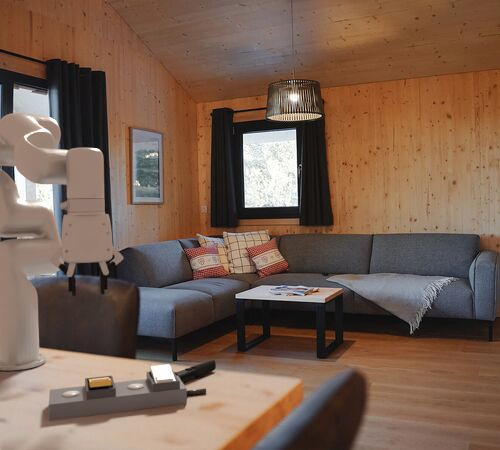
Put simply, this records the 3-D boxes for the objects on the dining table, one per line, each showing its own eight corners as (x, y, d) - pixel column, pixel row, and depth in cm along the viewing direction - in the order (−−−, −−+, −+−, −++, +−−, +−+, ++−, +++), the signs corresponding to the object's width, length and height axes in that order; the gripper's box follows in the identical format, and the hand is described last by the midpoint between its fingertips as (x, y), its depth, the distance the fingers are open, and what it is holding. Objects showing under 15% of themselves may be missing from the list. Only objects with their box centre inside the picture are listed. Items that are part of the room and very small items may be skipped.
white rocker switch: (150, 370, 119) (150, 364, 118) (169, 368, 120) (169, 362, 120) (155, 387, 112) (155, 381, 112) (175, 385, 113) (175, 378, 113)
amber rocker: (88, 384, 115) (88, 377, 115) (109, 382, 116) (108, 375, 116) (90, 387, 108) (89, 380, 108) (111, 385, 109) (111, 377, 110)
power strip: (50, 404, 114) (49, 381, 113) (200, 386, 123) (200, 365, 123) (49, 420, 105) (48, 396, 105) (211, 400, 115) (210, 377, 115)
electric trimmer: (220, 373, 134) (220, 360, 134) (173, 390, 122) (172, 375, 122) (208, 371, 137) (208, 358, 136) (161, 387, 124) (160, 372, 124)
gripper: (41, 208, 112) (44, 299, 112) (129, 207, 117) (131, 294, 118) (43, 208, 119) (45, 294, 119) (125, 207, 124) (127, 289, 125)
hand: (88, 293), depth 119 cm, fingers open, 5 cm apart
